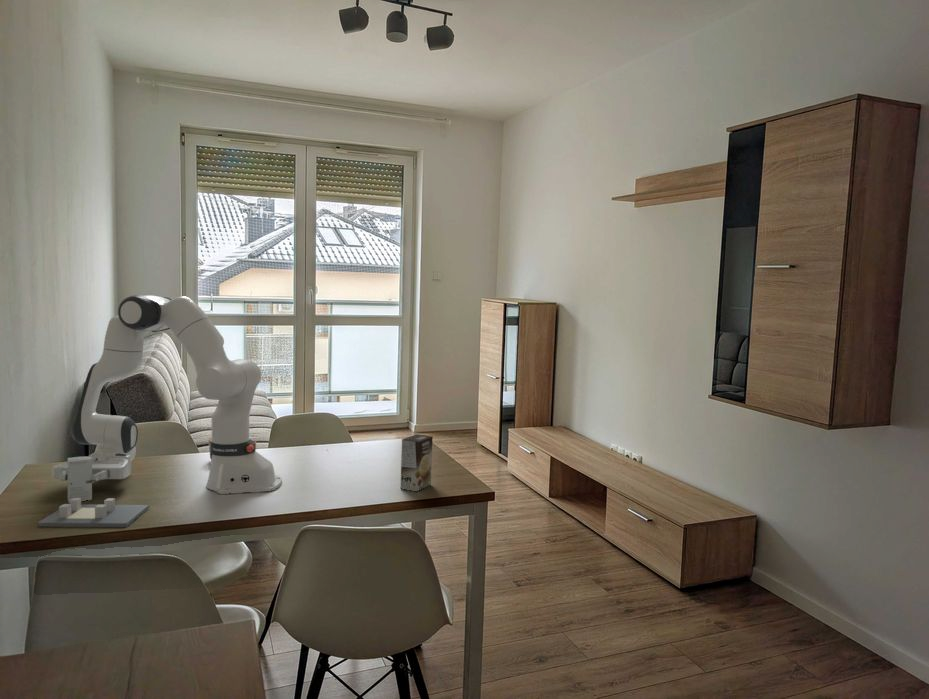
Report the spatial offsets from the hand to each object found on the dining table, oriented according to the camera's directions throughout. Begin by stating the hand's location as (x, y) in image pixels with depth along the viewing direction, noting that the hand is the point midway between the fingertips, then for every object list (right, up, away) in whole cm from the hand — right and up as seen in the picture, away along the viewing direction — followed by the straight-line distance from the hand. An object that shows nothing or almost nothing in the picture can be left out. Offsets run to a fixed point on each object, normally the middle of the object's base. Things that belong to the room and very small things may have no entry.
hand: (78, 478), depth 186 cm
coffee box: (+95, -8, +23) cm, 98 cm away
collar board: (+12, -8, -12) cm, 18 cm away
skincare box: (0, -7, +2) cm, 7 cm away
